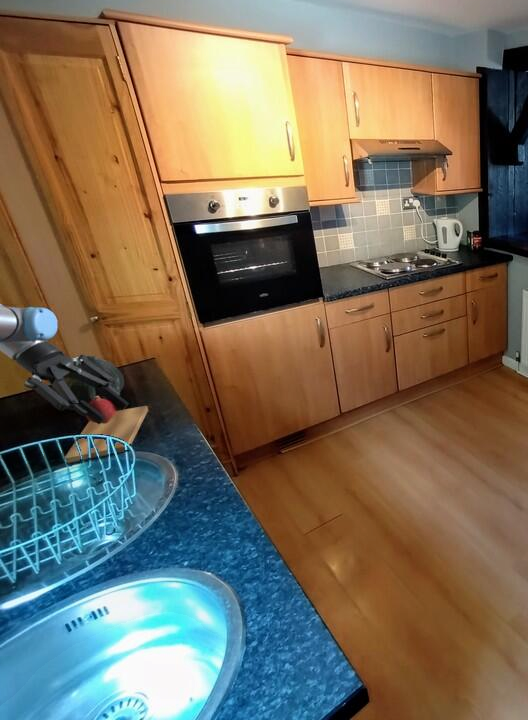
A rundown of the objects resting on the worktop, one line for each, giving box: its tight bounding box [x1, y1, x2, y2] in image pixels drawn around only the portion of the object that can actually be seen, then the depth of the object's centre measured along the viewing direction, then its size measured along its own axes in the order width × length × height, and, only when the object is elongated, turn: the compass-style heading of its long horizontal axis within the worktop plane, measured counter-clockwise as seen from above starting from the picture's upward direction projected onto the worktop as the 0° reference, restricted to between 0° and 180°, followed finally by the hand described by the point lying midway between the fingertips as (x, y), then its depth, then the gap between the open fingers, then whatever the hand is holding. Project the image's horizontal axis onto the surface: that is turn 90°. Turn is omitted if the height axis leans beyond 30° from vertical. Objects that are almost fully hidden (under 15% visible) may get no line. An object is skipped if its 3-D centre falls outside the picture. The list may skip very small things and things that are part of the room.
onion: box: [85, 396, 118, 424], centre depth 115 cm, size 6×6×8 cm
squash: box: [51, 355, 125, 404], centre depth 130 cm, size 14×15×15 cm
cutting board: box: [64, 405, 149, 464], centre depth 118 cm, size 12×20×2 cm, turn 25°
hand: (114, 413), depth 115 cm, fingers closed on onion, 6 cm apart
